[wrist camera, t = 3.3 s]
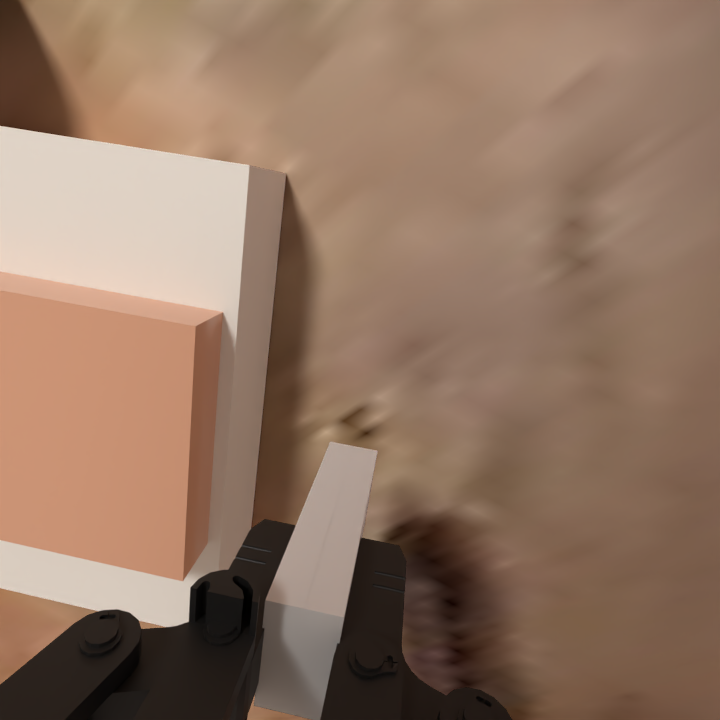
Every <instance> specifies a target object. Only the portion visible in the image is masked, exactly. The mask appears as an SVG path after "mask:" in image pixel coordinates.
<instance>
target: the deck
mask: <svg viewBox="0 0 720 720" xmlns="http://www.w3.org/2000/svg"><path fill="white" fill-rule="evenodd" d="M285 181H286V173H282V172H277V171H273V170H268V169H264V168H259V167H255V166H250V165H244V164H238V163H231V162H225V161H219V160H213V159H206V158H200V157H194V156H187V155H181V154H175V153H168V152H162V151H156V150H149V149H143V148H137V147H130V146H124V145H118V144H111V143H105V142H99V141H92V140H86V139H80V138H73V137H67V136H61V135H54V134H48V133H42V132H35V131H29V130H23V129H16V128H10V127H4V126H0V271H1V272H6V273H12V274H17V275H23V276H28V277H34V278H39V279H45V280H50V281H56V282H61V283H67V284H72V285H78V286H83V287H89V288H94V289H100V290H105V291H111V292H116V293H122V294H127V295H133V296H138V297H144V298H149V299H155V300H160V301H166V302H171V303H177V304H182V305H188V306H193V307H199V308H204V309H210V310H215V311H221V312H223V320H222V335H221V350H220V365H219V380H218V395H217V410H216V425H215V440H214V455H213V470H212V485H211V500H210V515H209V530H208V544H207V545H206V547H205V548H204V550H203V551H202V553H201V554H200V556H199V558H198V559H197V561H196V562H195V564H194V565H193V567H192V568H191V570H190V571H189V573H188V574H187V576H186V578H185V579H184V581H179V580H174V579H170V578H166V577H161V576H157V575H152V574H148V573H143V572H139V571H135V570H130V569H126V568H121V567H117V566H113V565H108V564H104V563H99V562H95V561H90V560H86V559H82V558H77V557H73V556H68V555H64V554H59V553H55V552H51V551H46V550H42V549H37V548H33V547H28V546H24V545H20V544H15V543H11V542H6V541H2V540H0V588H2V589H6V590H11V591H15V592H19V593H23V594H28V595H32V596H36V597H41V598H45V599H49V600H53V601H58V602H62V603H66V604H70V605H75V606H79V607H83V608H88V609H92V610H96V611H102V610H113V609H118V610H122V611H126V612H130V613H131V614H132V615H133V616H134V617H136V618H137V619H138V620H139V621H143V622H147V623H152V624H156V625H160V626H165V627H172V626H178V625H181V624H183V623H186V622H189V605H190V587H191V586H192V585H193V584H194V583H195V582H196V581H197V580H198V579H199V578H201V577H203V576H205V575H206V574H208V573H210V572H215V571H219V570H228V569H229V567H230V566H231V564H232V562H233V560H234V559H235V558H236V555H237V553H238V551H239V549H240V547H242V544H243V542H244V540H245V538H246V536H247V534H248V533H249V531H250V529H251V526H252V516H253V506H254V496H255V485H256V475H257V465H258V455H259V445H260V435H261V425H262V414H263V404H264V394H265V384H266V374H267V364H268V353H269V343H270V333H271V323H272V313H273V303H274V293H275V282H276V272H277V262H278V252H279V242H280V232H281V221H282V211H283V201H284V191H285Z"/></svg>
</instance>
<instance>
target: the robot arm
mask: <svg viewBox="0 0 720 720" xmlns="http://www.w3.org/2000/svg"><path fill="white" fill-rule="evenodd" d="M376 457H377V451H376V450H371V449H366V448H361V447H355V446H350V445H345V444H340V443H335V442H330V443H329V446H328V448H327V451H326V453H325V456H324V458H323V461H322V463H321V465H320V468H319V470H318V473H317V475H316V478H315V480H314V482H313V485H312V487H311V490H310V492H309V495H308V497H307V500H306V502H305V504H304V507H303V509H302V512H301V514H300V517H299V519H298V522H297V524H296V526H295V525H291V524H286V523H281V522H276V521H271V520H267V519H264V520H263V521H261V522H260V523H259V524H257V525H256V526H254V527H253V528H252V529H250V531H249V533H248V534H247V536H246V538H245V540H244V542H243V544H242V547H240V549H239V551H238V553H237V555H236V558H235V559H234V560H233V562H232V564H231V566H230V567H229V569H228V570H219V571H215V572H210V573H208V574H206V575H205V576H203V577H201V578H199V579H198V580H197V581H196V582H195V583H194V584H193V585H192V586H191V587H190V605H189V622H186V623H183V624H181V625H178V626H172V627H166V628H150V629H141V627H140V624H139V621H138V619H137V618H136V617H134V616H133V615H132V614H131V613H130V612H126V611H122V610H118V609H113V610H102V611H99V612H96V613H92V614H89V615H87V616H85V617H84V618H82V619H81V620H79V621H77V622H76V623H74V624H73V625H72V626H71V627H69V628H68V629H67V630H66V631H65V632H63V633H62V634H61V635H60V636H59V637H57V638H56V639H55V640H54V641H53V642H51V643H50V644H49V645H48V646H46V647H45V648H44V649H43V650H42V651H40V652H39V653H38V654H37V655H36V656H34V657H33V658H32V659H31V660H30V661H28V662H27V663H26V664H25V665H24V666H22V667H21V668H20V669H19V670H18V671H16V672H15V673H14V674H13V675H11V676H10V677H9V678H8V679H7V680H5V681H4V682H3V683H2V684H1V685H0V720H247V715H248V712H249V709H250V706H251V703H252V700H253V697H254V695H255V701H254V706H257V707H262V708H266V709H270V710H274V711H278V712H283V713H287V714H291V715H295V716H299V717H304V718H308V719H312V720H512V719H511V717H510V715H509V714H508V712H507V710H506V709H505V708H504V707H503V706H502V705H501V704H500V703H499V702H498V701H497V700H496V699H495V698H494V697H492V696H490V695H488V694H486V693H485V692H483V691H481V690H477V689H472V688H467V687H465V688H460V689H455V690H453V691H452V692H450V693H449V694H448V695H447V696H446V695H444V694H442V693H441V692H439V691H437V690H435V689H433V688H432V687H430V686H428V685H427V684H425V683H424V682H423V681H421V680H420V679H419V678H418V677H417V676H416V675H415V674H414V673H413V672H412V671H411V670H410V668H409V667H408V665H407V663H406V662H405V659H404V656H403V653H402V644H401V643H402V627H403V610H404V591H405V576H406V559H405V557H404V555H403V553H402V551H401V549H400V546H398V545H394V544H389V543H384V542H379V541H374V540H370V539H365V538H362V536H363V530H364V525H365V520H366V514H367V508H368V503H369V497H370V491H371V486H372V480H373V474H374V469H375V463H376Z"/></svg>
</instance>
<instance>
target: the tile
mask: <svg viewBox="0 0 720 720" xmlns="http://www.w3.org/2000/svg"><path fill="white" fill-rule="evenodd" d="M222 320H223V312H221V311H215V310H210V309H204V308H199V307H193V306H188V305H182V304H177V303H171V302H166V301H160V300H155V299H149V298H144V297H138V296H133V295H127V294H122V293H116V292H111V291H105V290H100V289H94V288H89V287H83V286H78V285H72V284H67V283H61V282H56V281H50V280H45V279H39V278H34V277H28V276H23V275H17V274H12V273H6V272H1V271H0V540H2V541H6V542H11V543H15V544H20V545H24V546H28V547H33V548H37V549H42V550H46V551H51V552H55V553H59V554H64V555H68V556H73V557H77V558H82V559H86V560H90V561H95V562H99V563H104V564H108V565H113V566H117V567H121V568H126V569H130V570H135V571H139V572H143V573H148V574H152V575H157V576H161V577H166V578H170V579H174V580H179V581H184V579H185V578H186V576H187V574H188V573H189V571H190V570H191V568H192V567H193V565H194V564H195V562H196V561H197V559H198V558H199V556H200V554H201V553H202V551H203V550H204V548H205V547H206V545H207V544H208V530H209V515H210V500H211V485H212V470H213V455H214V440H215V425H216V410H217V395H218V380H219V365H220V350H221V335H222Z"/></svg>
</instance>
